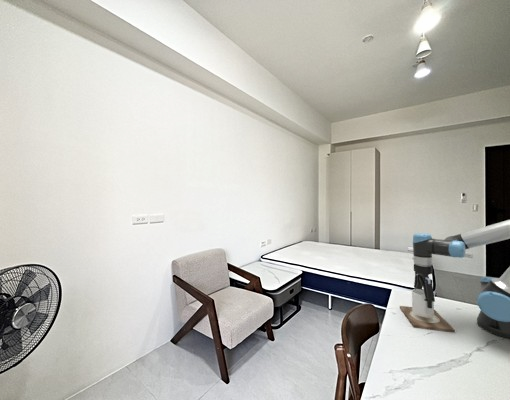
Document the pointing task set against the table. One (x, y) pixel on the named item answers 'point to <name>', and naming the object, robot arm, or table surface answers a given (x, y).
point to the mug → (420, 303)
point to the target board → (426, 321)
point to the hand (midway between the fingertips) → (424, 308)
